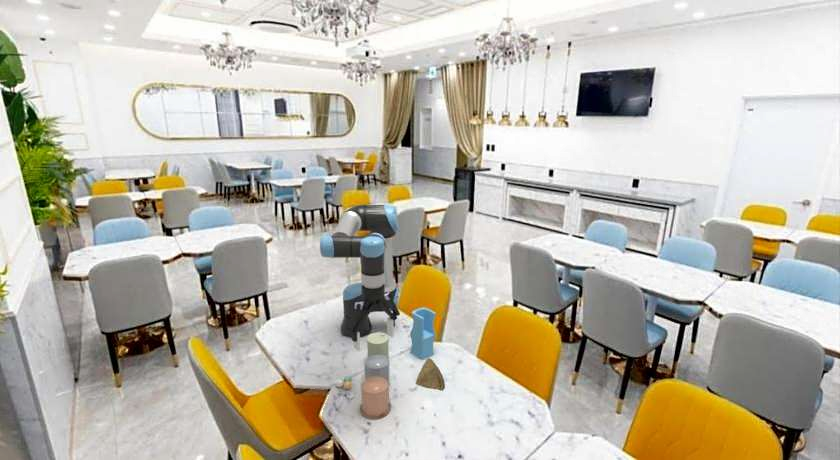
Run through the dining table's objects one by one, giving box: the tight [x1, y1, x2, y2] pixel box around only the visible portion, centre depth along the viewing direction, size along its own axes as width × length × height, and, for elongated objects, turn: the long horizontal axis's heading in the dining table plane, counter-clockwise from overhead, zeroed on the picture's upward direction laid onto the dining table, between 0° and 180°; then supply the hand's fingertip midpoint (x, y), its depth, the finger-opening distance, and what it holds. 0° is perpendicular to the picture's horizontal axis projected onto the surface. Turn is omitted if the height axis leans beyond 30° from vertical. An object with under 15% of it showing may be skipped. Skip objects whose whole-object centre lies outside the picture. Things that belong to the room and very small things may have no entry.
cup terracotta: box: [360, 376, 390, 416], centre depth 141 cm, size 9×9×9 cm
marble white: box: [335, 378, 345, 388], centre depth 153 cm, size 3×3×3 cm
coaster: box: [359, 401, 392, 420], centre depth 142 cm, size 11×11×1 cm
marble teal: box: [343, 374, 352, 383], centre depth 155 cm, size 3×3×3 cm
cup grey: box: [364, 355, 390, 384], centre depth 155 cm, size 9×9×9 cm
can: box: [366, 332, 390, 359], centre depth 168 cm, size 9×9×12 cm
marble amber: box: [343, 381, 352, 390], centre depth 152 cm, size 3×3×3 cm
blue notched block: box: [409, 306, 437, 361], centre depth 174 cm, size 8×8×20 cm
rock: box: [415, 357, 446, 390], centre depth 154 cm, size 11×9×10 cm
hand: (374, 342), depth 135 cm, fingers open, 13 cm apart
